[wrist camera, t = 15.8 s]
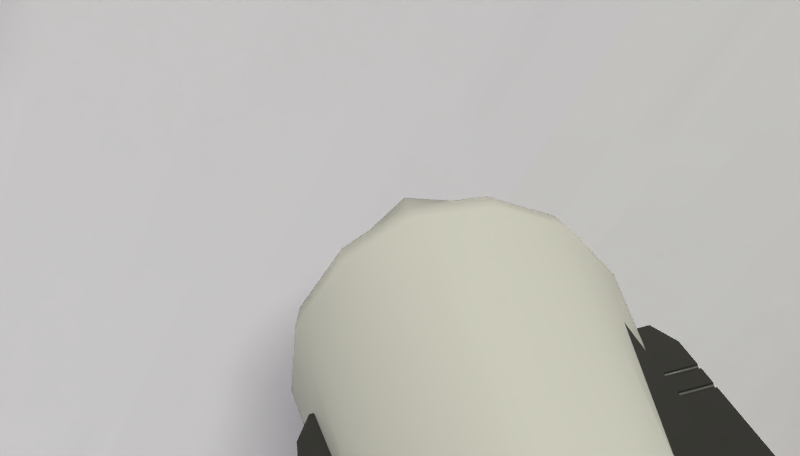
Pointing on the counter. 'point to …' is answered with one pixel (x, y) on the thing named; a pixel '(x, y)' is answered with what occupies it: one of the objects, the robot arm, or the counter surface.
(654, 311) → the counter surface
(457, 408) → the salt shaker
